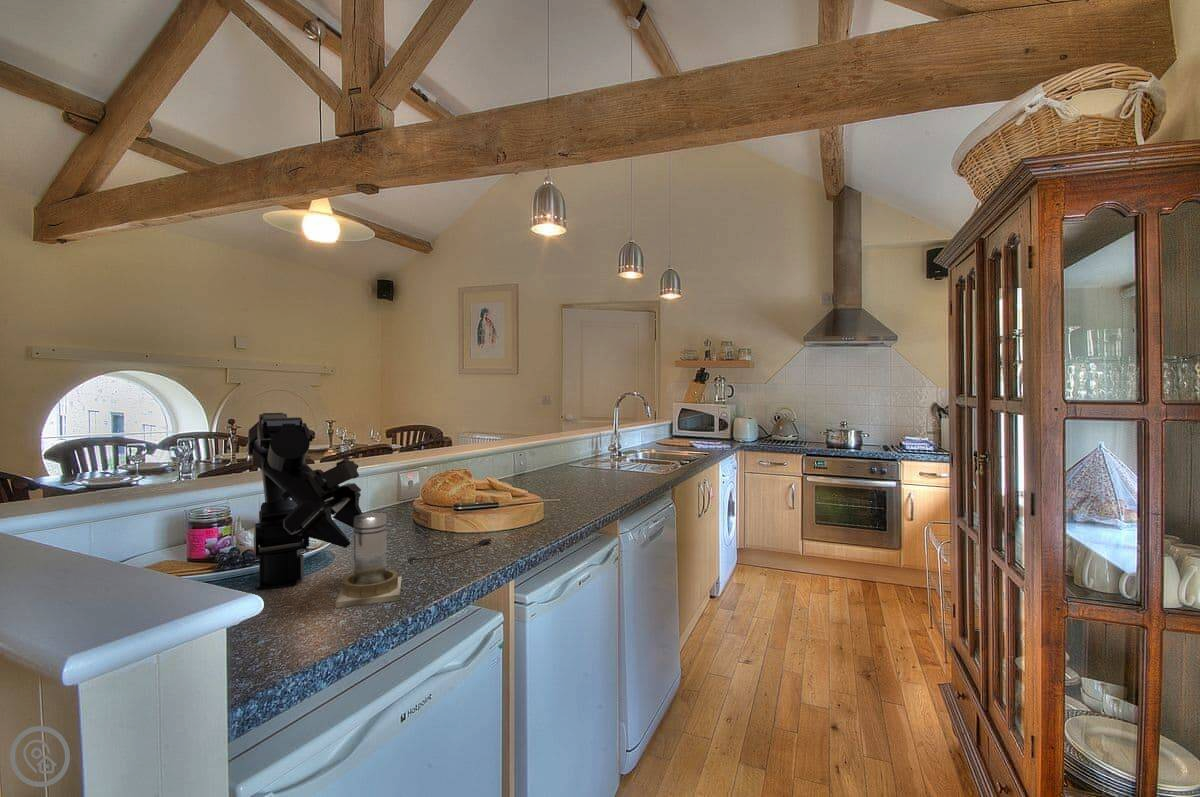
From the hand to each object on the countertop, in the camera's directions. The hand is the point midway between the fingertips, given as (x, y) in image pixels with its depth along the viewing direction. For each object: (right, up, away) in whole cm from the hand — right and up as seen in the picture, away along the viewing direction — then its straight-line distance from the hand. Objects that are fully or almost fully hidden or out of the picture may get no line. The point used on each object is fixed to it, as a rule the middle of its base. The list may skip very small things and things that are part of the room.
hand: (359, 538), depth 95 cm
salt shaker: (+2, -9, 0) cm, 9 cm away
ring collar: (+2, -10, 0) cm, 10 cm away
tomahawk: (+11, -10, +24) cm, 29 cm away
